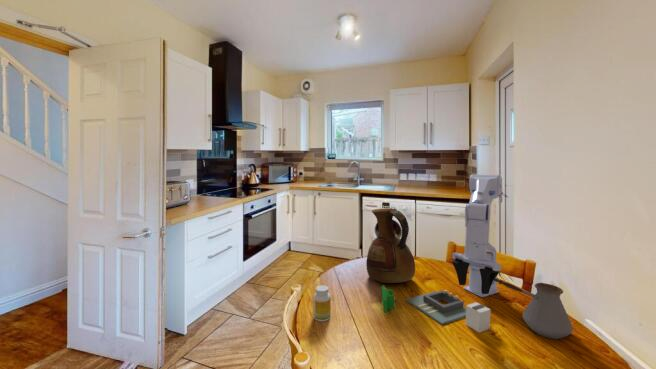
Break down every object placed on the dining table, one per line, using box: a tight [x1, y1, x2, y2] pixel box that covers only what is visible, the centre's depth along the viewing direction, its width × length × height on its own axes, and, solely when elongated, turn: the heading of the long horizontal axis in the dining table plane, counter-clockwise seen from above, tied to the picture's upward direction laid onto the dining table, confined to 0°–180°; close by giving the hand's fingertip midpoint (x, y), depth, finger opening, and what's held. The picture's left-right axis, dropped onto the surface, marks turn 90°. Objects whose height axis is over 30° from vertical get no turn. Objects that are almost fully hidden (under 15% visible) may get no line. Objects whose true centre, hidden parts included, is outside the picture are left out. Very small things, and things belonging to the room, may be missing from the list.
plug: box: [465, 301, 491, 333], centre depth 82 cm, size 4×4×6 cm
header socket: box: [405, 289, 466, 326], centre depth 93 cm, size 14×16×4 cm
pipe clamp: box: [381, 284, 396, 315], centre depth 95 cm, size 11×4×5 cm, turn 173°
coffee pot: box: [493, 278, 574, 340], centre depth 80 cm, size 21×12×15 cm, turn 82°
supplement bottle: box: [313, 284, 332, 322], centre depth 87 cm, size 5×5×10 cm
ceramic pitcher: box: [365, 207, 416, 284], centre depth 114 cm, size 20×20×30 cm
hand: (473, 289), depth 82 cm, fingers open, 7 cm apart
